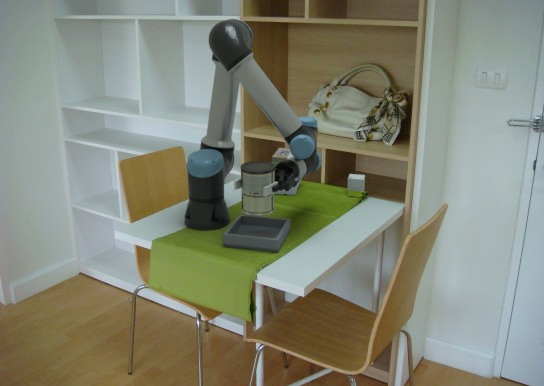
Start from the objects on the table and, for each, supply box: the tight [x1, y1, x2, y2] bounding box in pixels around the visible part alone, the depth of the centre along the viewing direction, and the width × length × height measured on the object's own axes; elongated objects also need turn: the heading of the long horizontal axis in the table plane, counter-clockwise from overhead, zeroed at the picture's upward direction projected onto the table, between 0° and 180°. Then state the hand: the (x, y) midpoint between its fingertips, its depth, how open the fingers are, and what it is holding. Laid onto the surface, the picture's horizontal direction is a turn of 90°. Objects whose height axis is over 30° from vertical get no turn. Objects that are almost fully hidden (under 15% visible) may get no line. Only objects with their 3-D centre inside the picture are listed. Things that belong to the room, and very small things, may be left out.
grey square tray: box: [222, 213, 292, 253], centre depth 175 cm, size 17×17×4 cm
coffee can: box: [240, 160, 276, 216], centre depth 171 cm, size 10×10×14 cm
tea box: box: [270, 147, 303, 196], centre depth 219 cm, size 15×10×15 cm
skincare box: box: [346, 173, 366, 193], centre depth 214 cm, size 6×6×7 cm
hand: (249, 188), depth 167 cm, fingers closed on coffee can, 10 cm apart
